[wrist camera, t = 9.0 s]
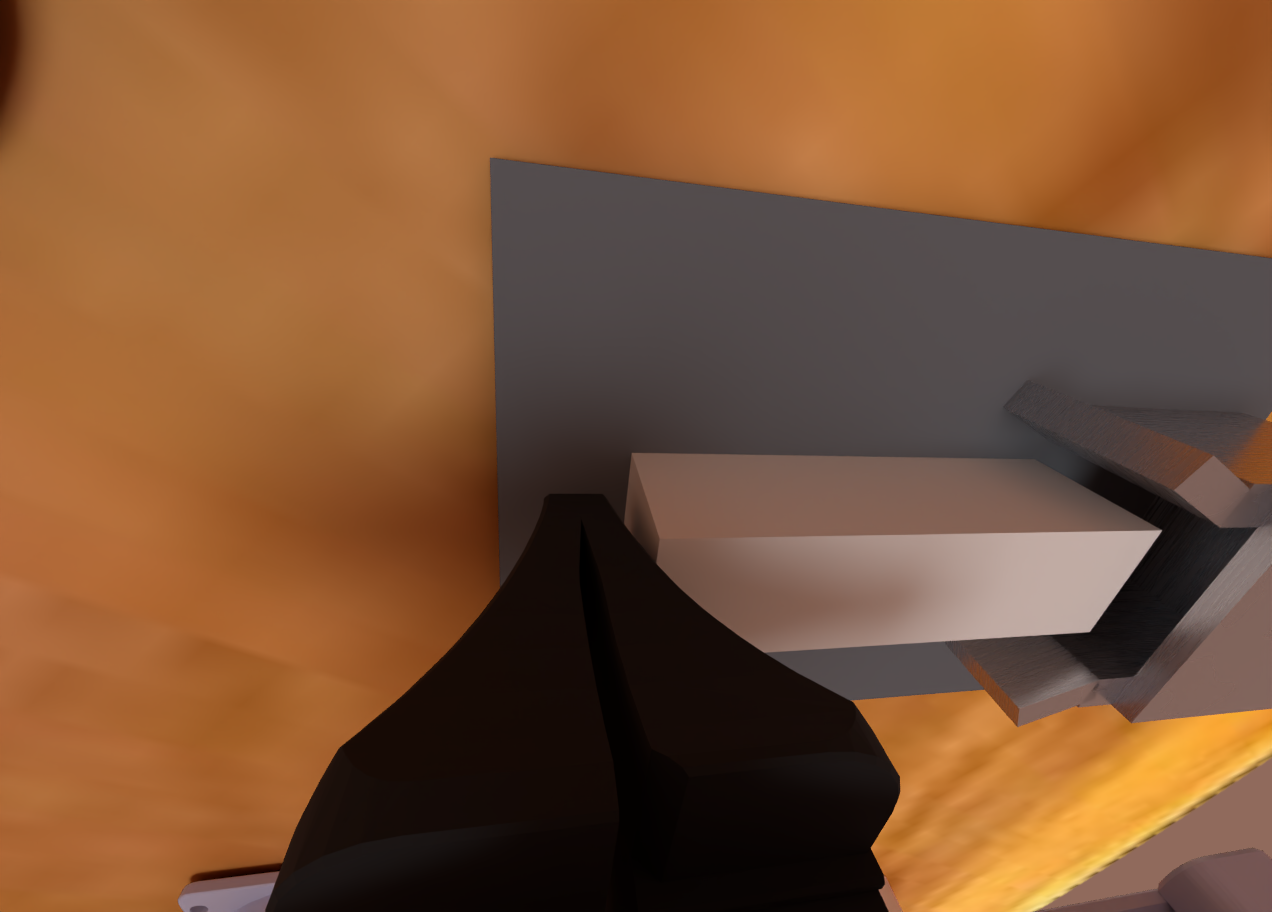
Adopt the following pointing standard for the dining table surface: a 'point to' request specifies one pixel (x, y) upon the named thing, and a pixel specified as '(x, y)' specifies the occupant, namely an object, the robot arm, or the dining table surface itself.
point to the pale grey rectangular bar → (882, 546)
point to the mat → (832, 346)
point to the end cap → (1157, 572)
